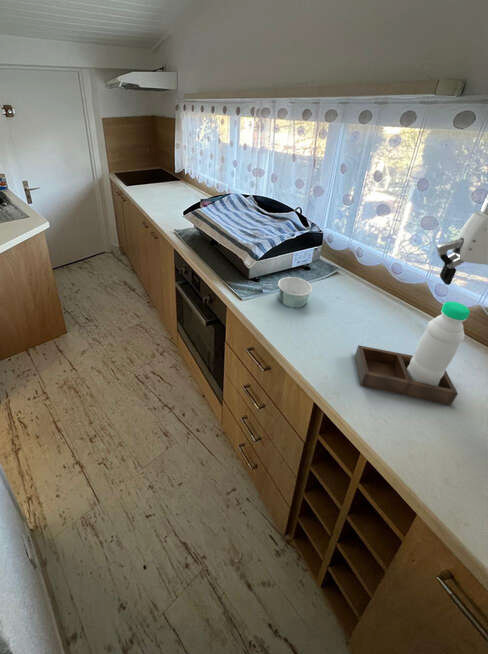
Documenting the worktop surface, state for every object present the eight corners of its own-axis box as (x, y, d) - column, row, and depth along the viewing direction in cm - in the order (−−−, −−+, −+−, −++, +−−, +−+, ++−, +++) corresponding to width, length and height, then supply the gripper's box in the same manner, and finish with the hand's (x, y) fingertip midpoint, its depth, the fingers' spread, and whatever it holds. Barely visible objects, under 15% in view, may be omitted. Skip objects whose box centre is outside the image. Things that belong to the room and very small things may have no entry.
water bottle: (428, 373, 83) (467, 299, 72) (441, 395, 77) (485, 318, 66) (399, 368, 85) (432, 295, 73) (409, 389, 79) (447, 313, 67)
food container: (292, 313, 108) (295, 298, 104) (269, 296, 117) (271, 282, 114) (316, 303, 113) (319, 288, 110) (291, 287, 122) (294, 273, 119)
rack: (434, 372, 85) (440, 360, 82) (450, 405, 76) (458, 393, 73) (354, 356, 90) (358, 345, 88) (360, 385, 81) (365, 373, 79)
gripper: (552, 207, 59) (510, 281, 67) (446, 200, 64) (419, 270, 72) (582, 221, 53) (532, 301, 61) (462, 212, 58) (430, 288, 66)
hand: (471, 284), depth 66 cm, fingers open, 9 cm apart
